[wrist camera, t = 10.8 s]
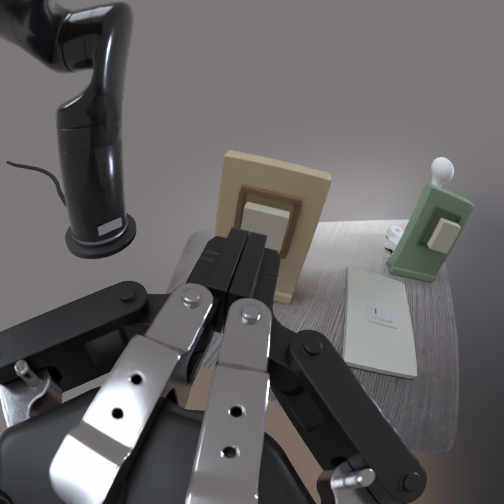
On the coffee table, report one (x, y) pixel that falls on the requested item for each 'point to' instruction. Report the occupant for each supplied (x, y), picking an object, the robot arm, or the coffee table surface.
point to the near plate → (274, 206)
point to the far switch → (443, 235)
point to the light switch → (378, 325)
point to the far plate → (427, 233)
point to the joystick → (441, 174)
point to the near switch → (266, 223)
